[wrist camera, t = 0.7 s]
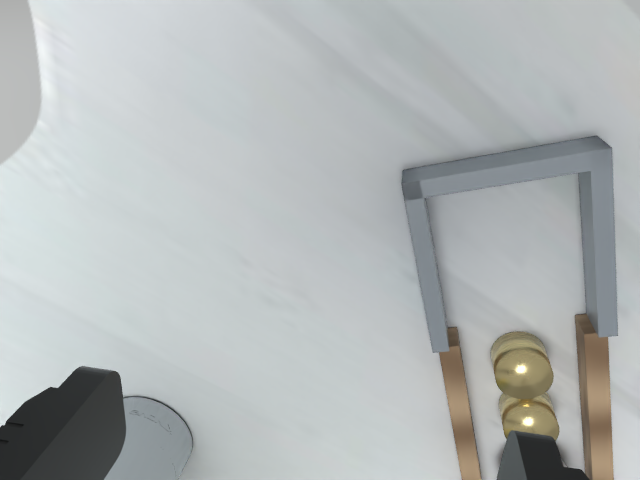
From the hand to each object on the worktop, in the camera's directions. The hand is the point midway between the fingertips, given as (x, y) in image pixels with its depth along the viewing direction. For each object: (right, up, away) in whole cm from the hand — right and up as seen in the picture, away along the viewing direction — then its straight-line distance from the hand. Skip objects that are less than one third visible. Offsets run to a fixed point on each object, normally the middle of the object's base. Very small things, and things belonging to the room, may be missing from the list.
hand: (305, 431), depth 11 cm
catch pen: (+14, +3, +27) cm, 31 cm away
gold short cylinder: (+17, -9, +33) cm, 38 cm away
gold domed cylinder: (+16, -5, +31) cm, 35 cm away
